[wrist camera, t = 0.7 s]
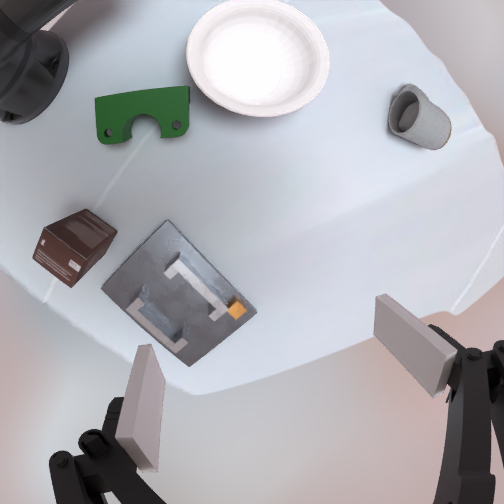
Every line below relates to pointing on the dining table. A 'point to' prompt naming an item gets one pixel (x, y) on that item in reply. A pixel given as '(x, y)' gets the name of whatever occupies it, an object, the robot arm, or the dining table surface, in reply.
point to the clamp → (142, 112)
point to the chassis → (178, 296)
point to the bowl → (257, 57)
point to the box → (73, 246)
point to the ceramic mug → (419, 119)
